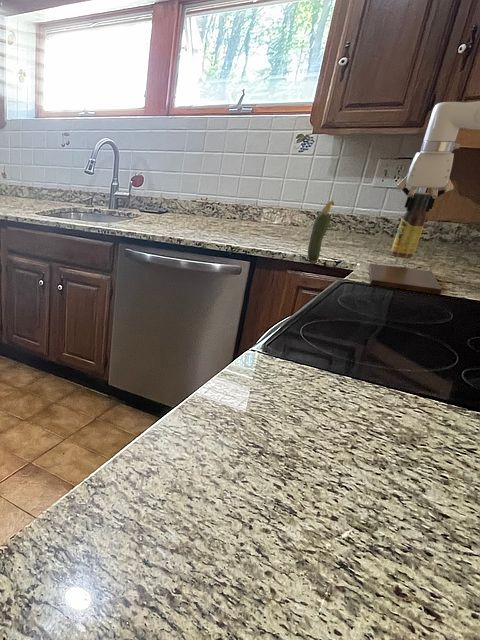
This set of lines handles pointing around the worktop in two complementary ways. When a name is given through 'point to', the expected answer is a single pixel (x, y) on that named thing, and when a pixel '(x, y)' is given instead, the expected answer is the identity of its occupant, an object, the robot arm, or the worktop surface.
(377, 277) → the board
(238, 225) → the worktop surface
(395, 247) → the sauce bottle
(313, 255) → the vegetable
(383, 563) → the worktop surface
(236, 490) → the worktop surface
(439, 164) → the robot arm
